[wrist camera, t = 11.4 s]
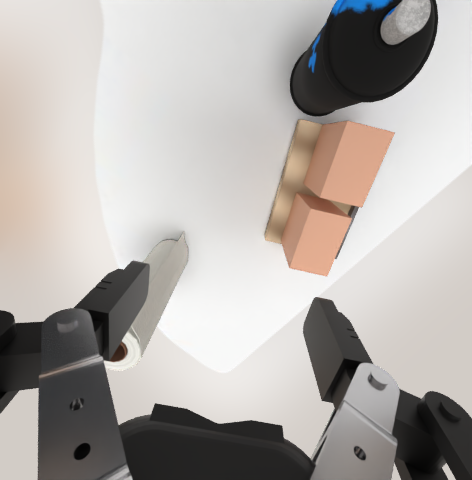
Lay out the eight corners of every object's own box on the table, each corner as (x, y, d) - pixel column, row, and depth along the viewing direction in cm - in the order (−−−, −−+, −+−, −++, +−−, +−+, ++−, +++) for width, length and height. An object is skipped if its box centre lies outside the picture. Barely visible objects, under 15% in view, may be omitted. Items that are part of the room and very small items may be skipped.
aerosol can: (364, 87, 33) (512, 24, 14) (311, 129, 35) (380, 122, 17) (332, 27, 31) (459, -137, 12) (277, 77, 33) (315, 2, 14)
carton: (296, 192, 37) (310, 208, 28) (329, 200, 37) (352, 218, 29) (280, 240, 40) (289, 268, 32) (310, 247, 40) (327, 276, 32)
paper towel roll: (165, 273, 46) (102, 378, 26) (148, 245, 43) (66, 337, 24) (200, 260, 44) (162, 361, 24) (184, 231, 42) (128, 315, 22)
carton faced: (322, 124, 33) (347, 120, 25) (358, 133, 33) (395, 132, 25) (303, 183, 36) (319, 197, 28) (336, 191, 36) (362, 207, 28)
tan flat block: (298, 120, 35) (302, 118, 32) (377, 139, 35) (388, 140, 32) (264, 235, 42) (265, 243, 39) (330, 250, 42) (337, 259, 39)
